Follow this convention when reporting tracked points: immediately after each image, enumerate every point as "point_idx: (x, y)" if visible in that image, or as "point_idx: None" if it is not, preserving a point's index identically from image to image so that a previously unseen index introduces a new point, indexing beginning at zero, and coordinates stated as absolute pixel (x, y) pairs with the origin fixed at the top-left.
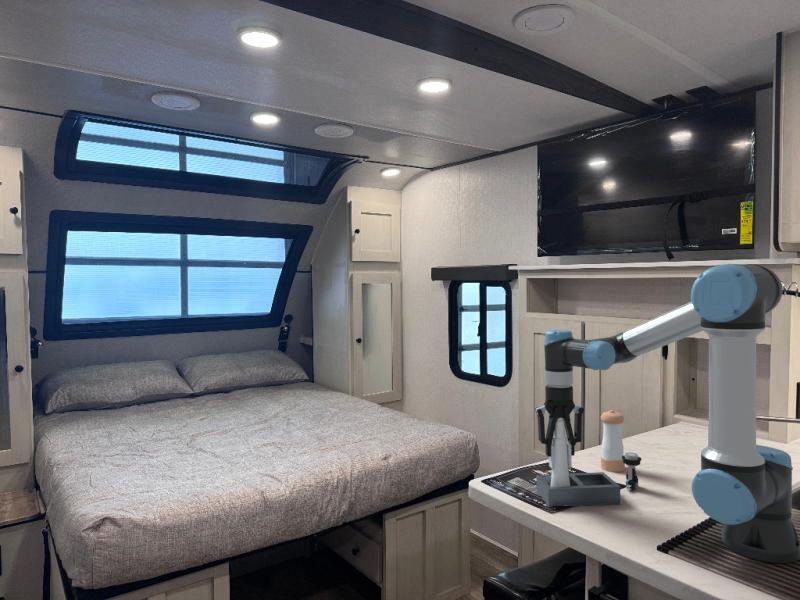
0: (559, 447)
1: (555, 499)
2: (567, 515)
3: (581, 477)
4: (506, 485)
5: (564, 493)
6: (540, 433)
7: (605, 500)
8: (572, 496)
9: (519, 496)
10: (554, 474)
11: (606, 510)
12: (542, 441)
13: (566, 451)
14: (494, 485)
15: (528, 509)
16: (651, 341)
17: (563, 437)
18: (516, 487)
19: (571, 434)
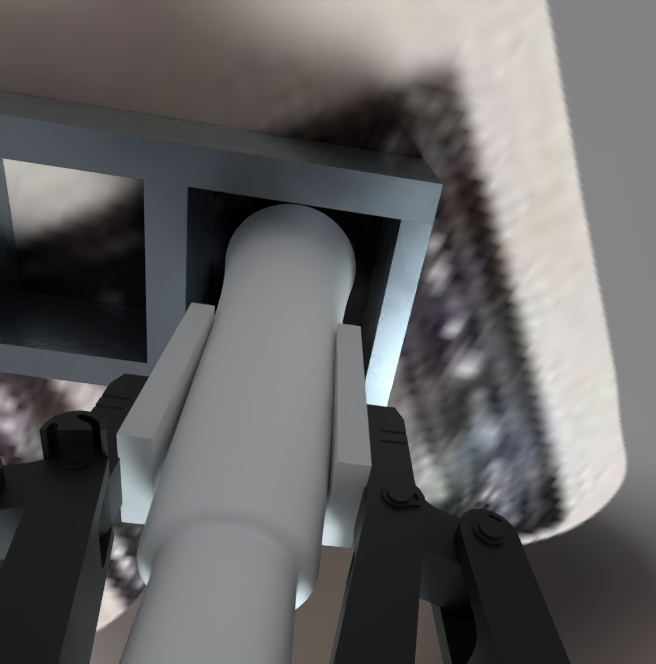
0: (282, 430)
1: (384, 160)
2: (370, 9)
3: (107, 349)
4: (479, 459)
5: (321, 159)
6: (561, 660)
7: (48, 103)
8: (267, 145)
9: (493, 335)
10: (337, 307)
11: (84, 17)
12: (503, 534)
13: (199, 395)
14: (533, 470)
15: (550, 165)
16: None
17: (189, 540)
18: (445, 430)
19: (35, 563)
